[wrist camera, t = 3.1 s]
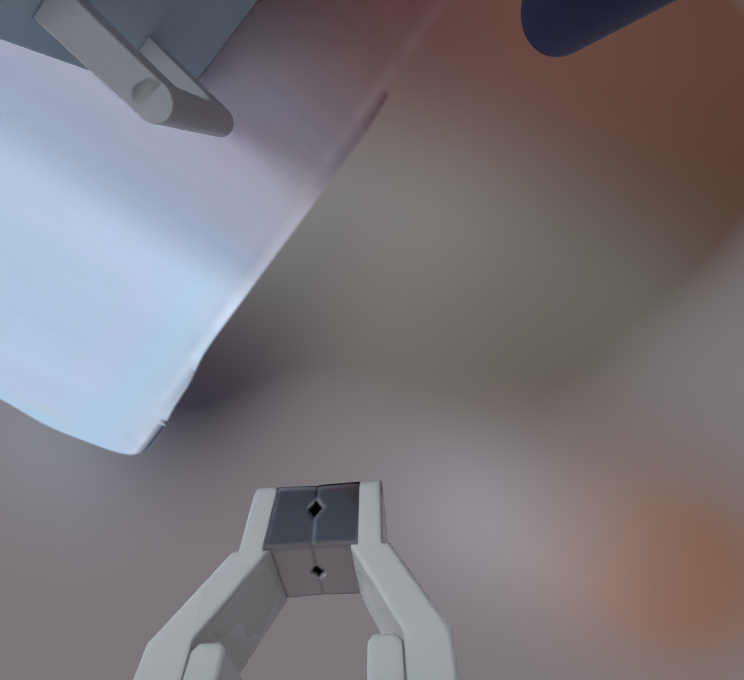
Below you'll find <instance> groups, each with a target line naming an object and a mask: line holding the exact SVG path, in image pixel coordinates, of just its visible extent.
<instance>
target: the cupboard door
mask: <svg viewBox="0 0 744 680" xmlns="http://www.w3.org/2000/svg"><path fill="white" fill-rule="evenodd" d="M257 1H258V0H0V39H2V40H5V41H7V42H10V43H13V44H16V45H19V46H22V47H24V48H27V49H30V50H33V51H36V52H39V53H41V54H44V55H47V56H50V57H53V58H56V59H58V60H61V61H64V62H67V63H70V64H73V65H75V66H78V67H81V68H84V69H87V70H90V71H91V72H92V73H93V74H94V75H95V76H96V77H97V78H99V79H100V80H101V81H102V82H103V83H104V84H105V85H106V86H107V87H108V88H109V89H110V90H112V91H113V92H114V93H115V94H116V95H117V96H118V97H119V98H120V99H121V100H122V101H123V102H124V103H126V104H127V105H128V106H129V107H130V108H131V109H132V110H133V111H134V112H135V113H136V114H137V115H138V116H139V117H140V118H142V119H143V120H144V121H146V122H149V123H152V124H157V125H162V126H167V127H172V128H177V129H182V130H187V131H192V132H197V133H202V134H207V135H212V136H217V137H225V136H227V135H228V134H230V132H231V131H232V129H233V118H232V115H231V114H230V112H229V111H228V110H227V109H226V108H225V107H224V106H223V105H222V104H221V103H220V102H219V101H218V100H217V99H216V98H215V97H214V96H213V95H212V94H211V93H210V92H209V91H208V90H207V89H206V88H205V87H204V86H203V85H202V84H201V83H200V82H199V81H198V78H199V77H200V76H201V74H202V73H203V72H204V71H205V69H206V68H207V67H208V65H209V64H210V63H211V61H212V60H213V59H214V57H215V56H216V55H217V53H218V52H219V51H220V50H221V48H222V47H223V46H224V44H225V43H226V42H227V40H228V39H229V38H230V36H231V35H232V34H233V32H234V31H235V30H236V28H237V27H238V26H239V25H240V23H241V22H242V21H243V19H244V18H245V17H246V15H247V14H248V13H249V11H250V10H251V9H252V7H253V6H254V5H255V4H256V2H257Z"/></svg>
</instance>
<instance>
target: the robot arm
mask: <svg viewBox="0 0 744 680" xmlns="http://www.w3.org/2000/svg"><path fill="white" fill-rule="evenodd" d="M353 593H354V594H355V593H360V595H361V597H362V599H363V601H364V603H365V605H366V606H367V608H368V610H369V612H370V614H371V616H372V618H373V619H374V621H375V623H376V625H377V627H378V628H379V630H380V632H381V634H375V635H373V636H372V638H371V639H370V640H369V641H368V659H367V680H460V678H459V672H458V665H457V658H456V651H455V645H454V638H453V631H452V628H451V627H450V625H449V624H448V622H447V621H446V620H445V618H444V617H443V616H442V614H441V613H440V611H439V610H438V609H437V607H436V606H435V605H434V603H433V602H432V601H431V599H430V598H429V596H428V595H427V594H426V592H425V591H424V590H423V588H422V587H421V585H420V584H419V583H418V581H417V580H416V578H415V577H414V576H413V575H412V573H411V572H410V571H409V569H408V568H407V566H406V565H405V563H404V562H403V561H402V559H401V558H400V557H399V555H398V554H397V553H396V551H395V550H394V548H393V547H392V546H391V545H390V543H388V542H387V526H386V515H385V506H384V497H383V488H382V482H381V481H369V482H351V483H339V484H326V485H320V486H304V487H279V488H263V489H258V490H257V492H256V493H255V495H254V498H253V502H252V506H251V509H250V513H249V517H248V520H247V524H246V528H245V532H244V535H243V539H242V542H241V546H240V550H239V552H233V553H232V554H231V555H230V556H229V557H228V558H227V559H226V560H225V561H224V562H223V563H222V564H221V566H219V568H218V569H217V570H216V571H215V572H214V573H213V574H212V575H211V576H210V577H209V578H208V579H207V581H206V582H205V583H204V584H203V585H202V586H201V587H200V588H199V589H198V590H197V591H196V592H195V594H193V596H192V597H191V598H190V599H189V600H188V601H187V602H186V603H185V604H184V605H183V606H182V607H181V608H180V609H179V611H178V612H177V613H176V614H175V615H174V616H173V617H172V618H171V619H170V620H169V621H168V622H167V624H166V625H165V626H164V627H163V628H162V629H161V630H160V631H159V632H158V633H157V634H156V635H155V636H154V637H153V639H152V640H151V641H150V642H149V643H148V644H147V646H146V649H145V651H144V654H143V657H142V659H141V662H140V664H139V667H138V669H137V672H136V675H135V677H134V680H242V679H241V677H240V675H239V674H240V673H241V671H242V670H243V668H244V666H245V665H246V663H247V662H248V660H249V659H250V657H251V656H252V654H253V653H254V651H255V649H256V648H257V646H258V645H259V643H260V642H261V640H262V639H263V637H264V635H265V634H266V632H267V631H268V629H269V628H270V626H271V625H272V623H273V622H274V620H275V619H276V617H277V615H278V614H279V612H280V611H281V609H282V608H283V606H284V605H285V603H286V601H287V598H288V597H299V596H311V595H323V594H353Z"/></svg>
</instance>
